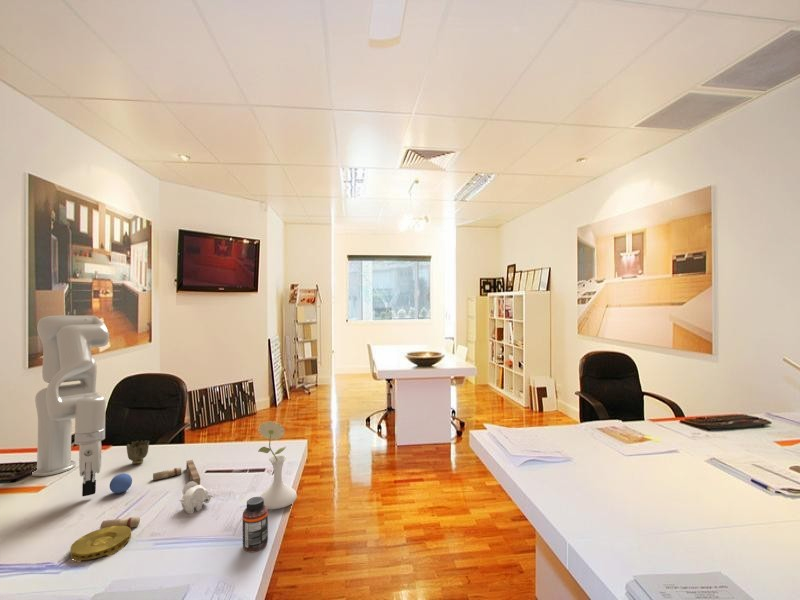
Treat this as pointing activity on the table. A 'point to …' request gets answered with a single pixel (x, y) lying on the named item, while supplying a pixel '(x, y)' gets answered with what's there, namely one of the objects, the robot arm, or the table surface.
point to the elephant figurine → (194, 497)
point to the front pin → (121, 522)
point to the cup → (137, 451)
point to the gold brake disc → (100, 543)
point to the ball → (120, 483)
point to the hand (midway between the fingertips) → (89, 494)
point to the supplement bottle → (255, 525)
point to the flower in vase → (276, 470)
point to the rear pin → (166, 473)
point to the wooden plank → (192, 472)
